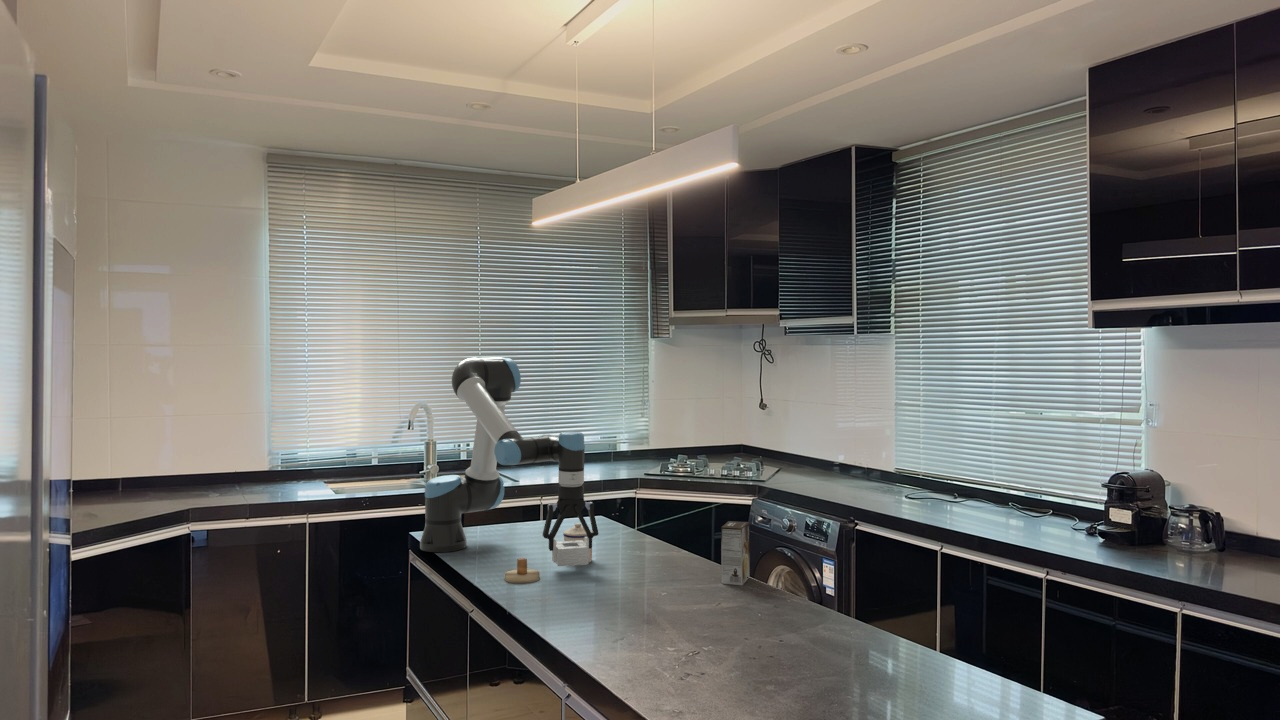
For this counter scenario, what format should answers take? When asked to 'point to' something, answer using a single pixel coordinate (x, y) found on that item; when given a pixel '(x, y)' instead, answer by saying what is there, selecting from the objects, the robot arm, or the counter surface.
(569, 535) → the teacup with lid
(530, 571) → the hub
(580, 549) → the white boxy piece
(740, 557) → the coffee box
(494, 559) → the counter surface
